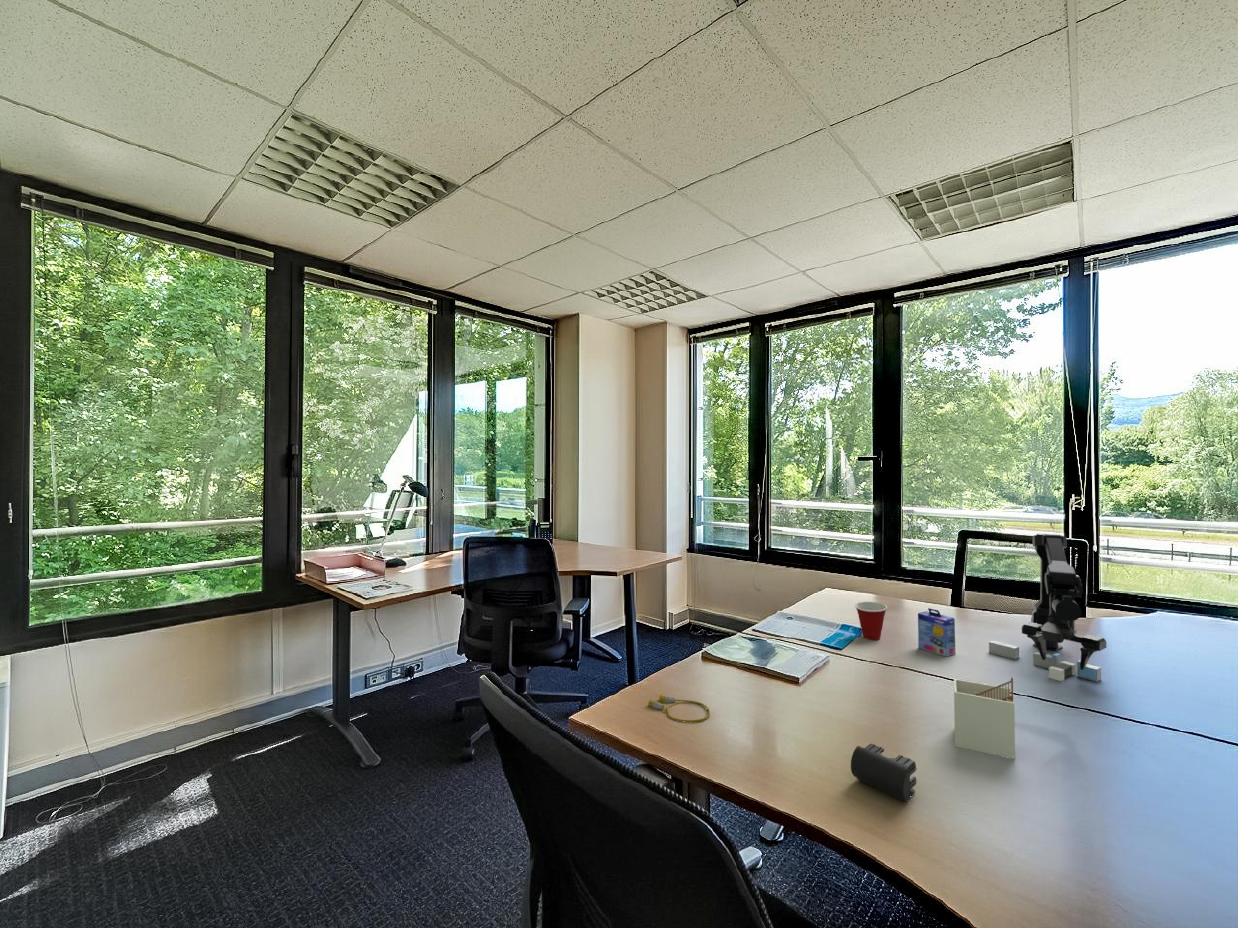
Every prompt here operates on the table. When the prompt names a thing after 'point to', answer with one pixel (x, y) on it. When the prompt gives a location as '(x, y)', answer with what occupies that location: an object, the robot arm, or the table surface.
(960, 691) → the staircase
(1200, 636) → the table surface
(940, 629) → the ink cartridge box
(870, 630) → the plastic cup
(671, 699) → the extension cord
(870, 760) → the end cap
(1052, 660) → the grey block row
